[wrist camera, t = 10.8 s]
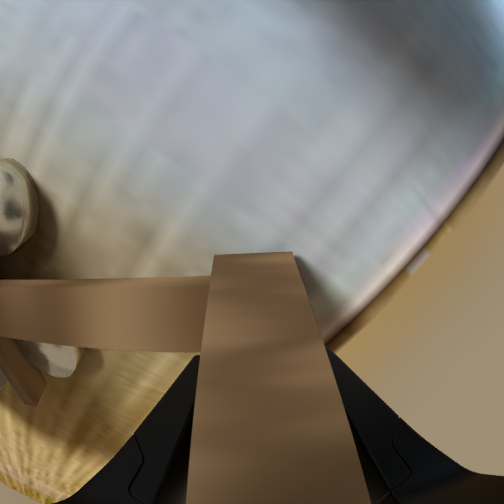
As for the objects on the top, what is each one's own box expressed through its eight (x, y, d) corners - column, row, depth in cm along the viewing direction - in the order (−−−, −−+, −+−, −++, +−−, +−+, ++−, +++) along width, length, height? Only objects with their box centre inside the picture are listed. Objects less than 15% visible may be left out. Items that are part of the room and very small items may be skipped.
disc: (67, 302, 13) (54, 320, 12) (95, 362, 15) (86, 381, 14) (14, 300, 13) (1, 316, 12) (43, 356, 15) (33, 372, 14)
